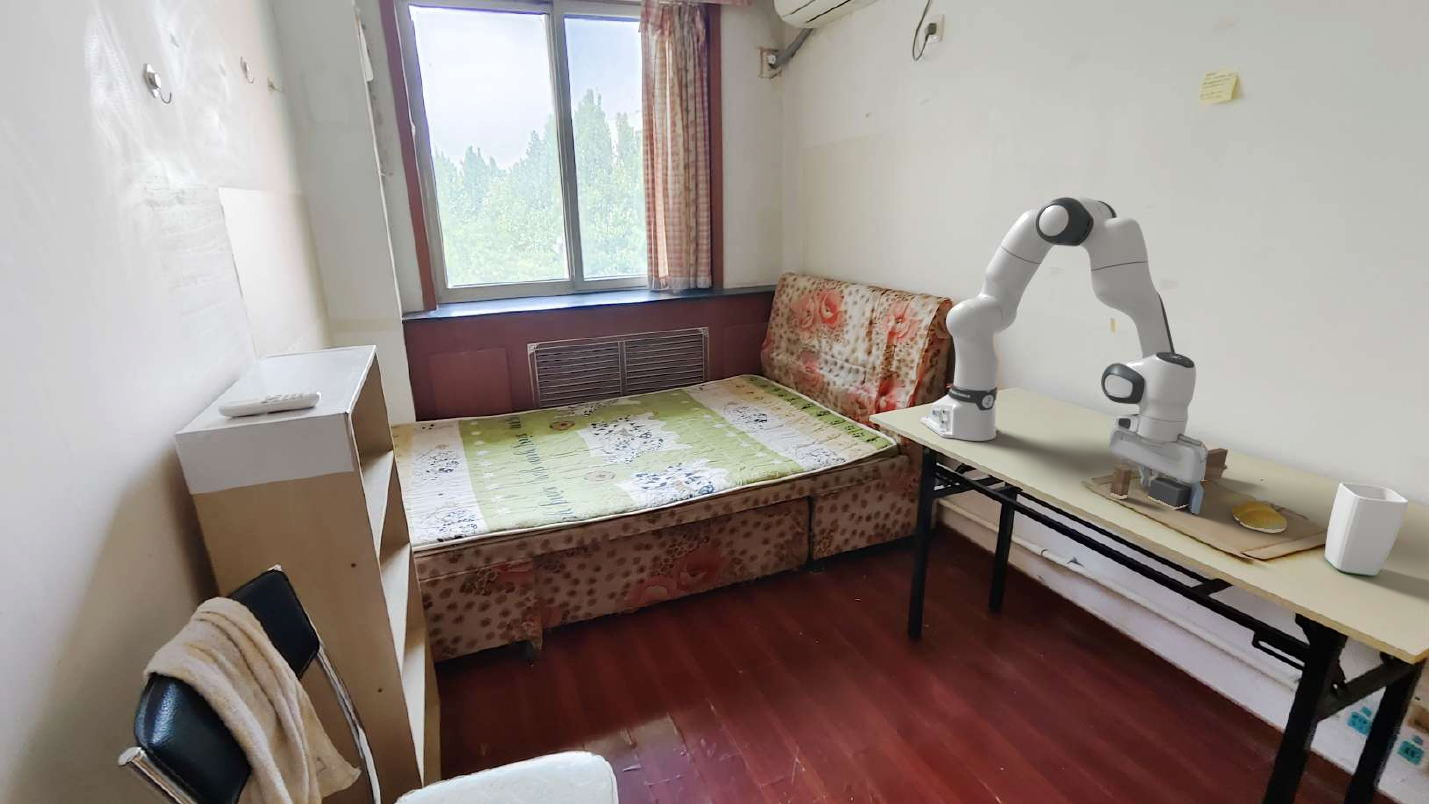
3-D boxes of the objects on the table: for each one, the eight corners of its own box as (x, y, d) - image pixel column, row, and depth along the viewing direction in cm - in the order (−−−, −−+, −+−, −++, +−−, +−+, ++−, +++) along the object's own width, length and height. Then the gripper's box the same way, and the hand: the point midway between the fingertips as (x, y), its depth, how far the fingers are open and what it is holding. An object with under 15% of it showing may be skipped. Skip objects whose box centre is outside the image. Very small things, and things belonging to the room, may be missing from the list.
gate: (1191, 513, 135) (1196, 489, 133) (1176, 483, 149) (1181, 461, 148) (1198, 514, 134) (1203, 490, 133) (1182, 483, 149) (1187, 461, 147)
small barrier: (1109, 495, 144) (1114, 466, 142) (1212, 474, 154) (1219, 447, 152) (1119, 499, 142) (1124, 470, 140) (1223, 478, 152) (1229, 450, 150)
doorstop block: (1147, 498, 142) (1151, 480, 141) (1159, 495, 144) (1163, 477, 142) (1174, 510, 137) (1178, 490, 136) (1187, 506, 138) (1191, 487, 137)
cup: (1333, 574, 113) (1357, 497, 108) (1314, 554, 119) (1335, 481, 115) (1387, 582, 110) (1414, 504, 106) (1364, 561, 117) (1388, 486, 112)
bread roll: (1247, 533, 128) (1251, 515, 126) (1224, 513, 136) (1228, 496, 135) (1296, 537, 126) (1301, 519, 124) (1270, 517, 134) (1275, 499, 133)
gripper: (1220, 441, 131) (1205, 502, 136) (1128, 412, 150) (1118, 467, 154) (1198, 445, 129) (1184, 507, 134) (1108, 415, 148) (1098, 470, 152)
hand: (1148, 485), depth 144 cm, fingers closed
